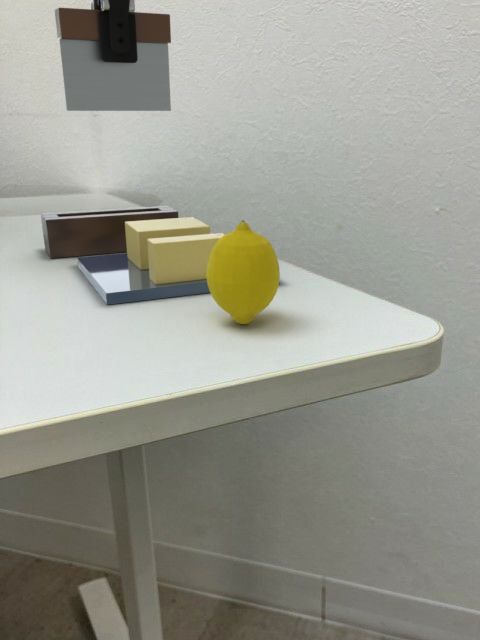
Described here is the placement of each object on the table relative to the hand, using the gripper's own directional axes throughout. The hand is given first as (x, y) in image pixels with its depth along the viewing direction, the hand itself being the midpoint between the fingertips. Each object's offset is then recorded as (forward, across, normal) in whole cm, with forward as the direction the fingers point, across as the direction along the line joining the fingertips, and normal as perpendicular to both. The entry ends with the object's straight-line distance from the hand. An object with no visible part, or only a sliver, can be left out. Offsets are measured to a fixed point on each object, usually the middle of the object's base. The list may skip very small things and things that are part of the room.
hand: (115, 60), depth 62 cm
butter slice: (+18, +13, +2) cm, 22 cm away
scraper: (+4, 0, 0) cm, 4 cm away
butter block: (+18, +6, +2) cm, 19 cm away
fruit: (+19, +23, +3) cm, 30 cm away
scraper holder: (+19, -5, -1) cm, 19 cm away
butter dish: (+19, +8, +2) cm, 21 cm away
